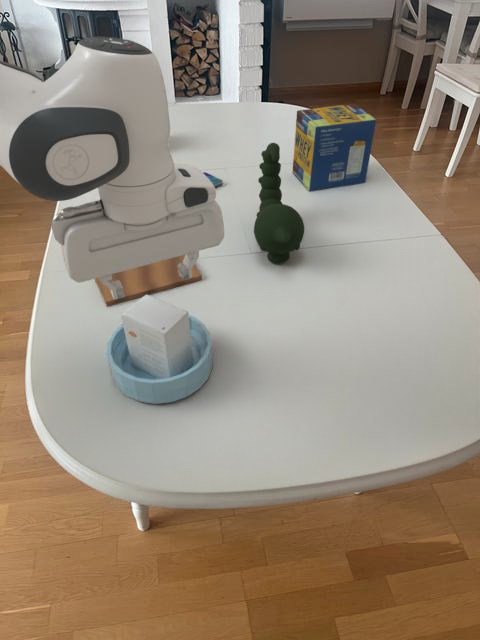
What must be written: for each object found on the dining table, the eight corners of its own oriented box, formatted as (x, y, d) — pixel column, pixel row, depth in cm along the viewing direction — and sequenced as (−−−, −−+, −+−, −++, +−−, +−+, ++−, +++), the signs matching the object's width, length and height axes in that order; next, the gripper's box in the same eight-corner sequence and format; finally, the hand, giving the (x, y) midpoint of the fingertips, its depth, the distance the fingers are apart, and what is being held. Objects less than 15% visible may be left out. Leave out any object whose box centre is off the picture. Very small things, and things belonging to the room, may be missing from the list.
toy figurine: (247, 222, 115) (257, 282, 95) (247, 135, 104) (259, 182, 84) (289, 220, 116) (308, 280, 96) (293, 134, 104) (316, 180, 84)
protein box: (291, 173, 130) (295, 110, 119) (347, 164, 133) (356, 102, 123) (308, 192, 122) (314, 126, 112) (366, 182, 126) (378, 118, 116)
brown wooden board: (106, 306, 91) (105, 302, 90) (85, 259, 102) (84, 254, 101) (202, 279, 97) (201, 275, 96) (172, 237, 107) (172, 233, 107)
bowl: (129, 420, 72) (123, 396, 69) (101, 350, 83) (95, 327, 79) (228, 384, 77) (227, 361, 74) (190, 323, 88) (188, 300, 84)
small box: (194, 363, 80) (190, 311, 73) (171, 387, 76) (165, 334, 69) (153, 344, 83) (146, 292, 76) (130, 365, 79) (119, 313, 72)
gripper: (52, 225, 55) (80, 322, 64) (228, 185, 61) (230, 278, 71) (42, 199, 59) (69, 294, 68) (207, 164, 66) (212, 255, 75)
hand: (152, 286), depth 70 cm, fingers open, 8 cm apart
